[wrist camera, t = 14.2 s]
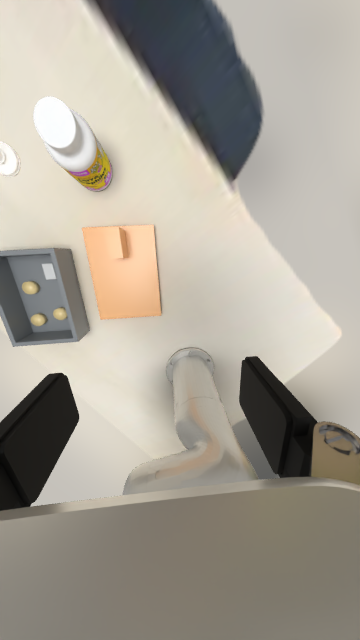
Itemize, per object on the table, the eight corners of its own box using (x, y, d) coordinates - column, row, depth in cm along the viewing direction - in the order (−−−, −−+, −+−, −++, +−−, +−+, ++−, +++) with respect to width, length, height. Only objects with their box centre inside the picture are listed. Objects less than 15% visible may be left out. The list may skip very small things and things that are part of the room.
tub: (89, 330, 43) (78, 341, 38) (33, 334, 43) (12, 346, 37) (70, 249, 37) (53, 248, 32) (4, 252, 37) (-26, 252, 31)
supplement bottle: (88, 198, 35) (46, 167, 23) (67, 158, 32) (9, 100, 20) (120, 183, 34) (94, 143, 22) (101, 141, 32) (62, 72, 20)
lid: (161, 312, 43) (160, 323, 37) (103, 316, 43) (92, 327, 36) (154, 226, 37) (151, 219, 31) (86, 229, 37) (68, 223, 30)
